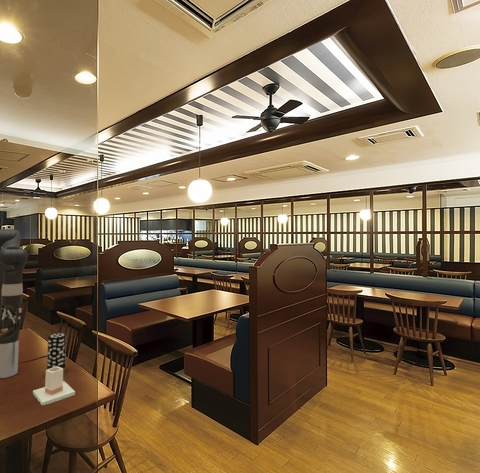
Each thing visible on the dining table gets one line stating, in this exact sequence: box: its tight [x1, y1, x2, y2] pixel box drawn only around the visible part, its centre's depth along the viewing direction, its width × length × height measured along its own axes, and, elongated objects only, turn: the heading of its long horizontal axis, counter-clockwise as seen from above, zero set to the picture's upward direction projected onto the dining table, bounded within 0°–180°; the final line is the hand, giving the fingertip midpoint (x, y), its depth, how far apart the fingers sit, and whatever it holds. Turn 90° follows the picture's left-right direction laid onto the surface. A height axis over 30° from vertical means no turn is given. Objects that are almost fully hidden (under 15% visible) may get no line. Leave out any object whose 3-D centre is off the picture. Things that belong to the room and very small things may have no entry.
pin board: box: [32, 380, 76, 407], centre depth 137 cm, size 14×13×8 cm
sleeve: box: [44, 366, 64, 395], centre depth 137 cm, size 5×5×10 cm
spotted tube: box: [46, 332, 67, 375], centre depth 158 cm, size 8×8×20 cm
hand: (10, 329), depth 134 cm, fingers open, 8 cm apart
